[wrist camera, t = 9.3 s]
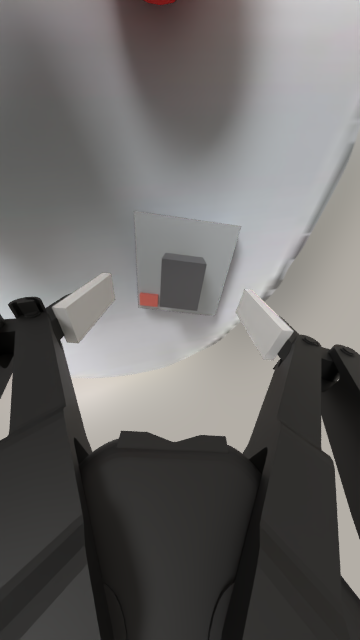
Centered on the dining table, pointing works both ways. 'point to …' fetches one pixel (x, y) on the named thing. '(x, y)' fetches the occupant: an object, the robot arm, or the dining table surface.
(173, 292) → the plug
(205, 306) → the socket plate
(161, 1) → the tomato
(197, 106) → the dining table surface
